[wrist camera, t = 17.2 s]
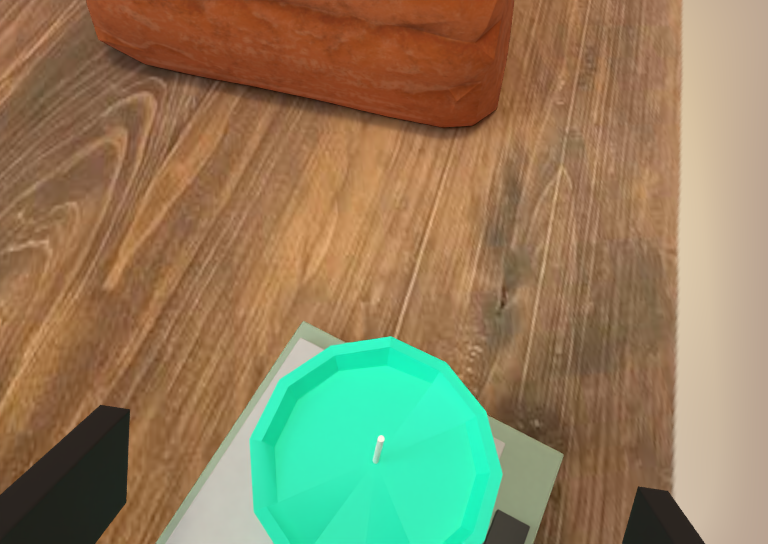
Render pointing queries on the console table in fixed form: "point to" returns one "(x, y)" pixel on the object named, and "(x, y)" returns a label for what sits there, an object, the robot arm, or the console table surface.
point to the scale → (234, 481)
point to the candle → (374, 451)
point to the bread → (329, 49)
